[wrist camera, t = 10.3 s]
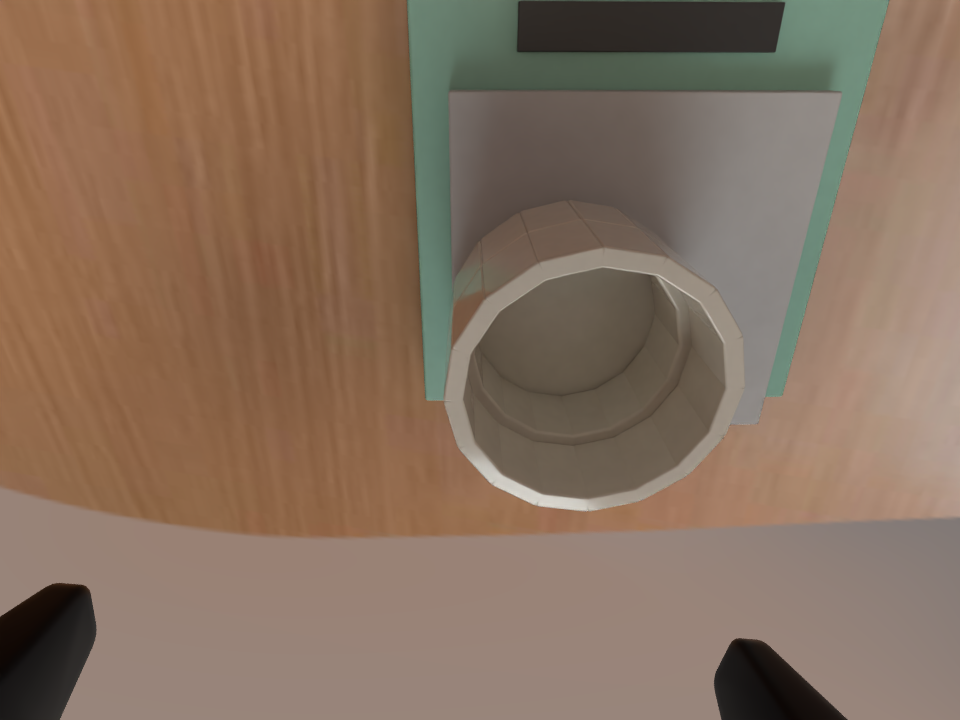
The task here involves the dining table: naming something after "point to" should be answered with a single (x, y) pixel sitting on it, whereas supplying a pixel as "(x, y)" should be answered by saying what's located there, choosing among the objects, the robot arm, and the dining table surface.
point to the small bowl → (587, 359)
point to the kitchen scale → (643, 140)
